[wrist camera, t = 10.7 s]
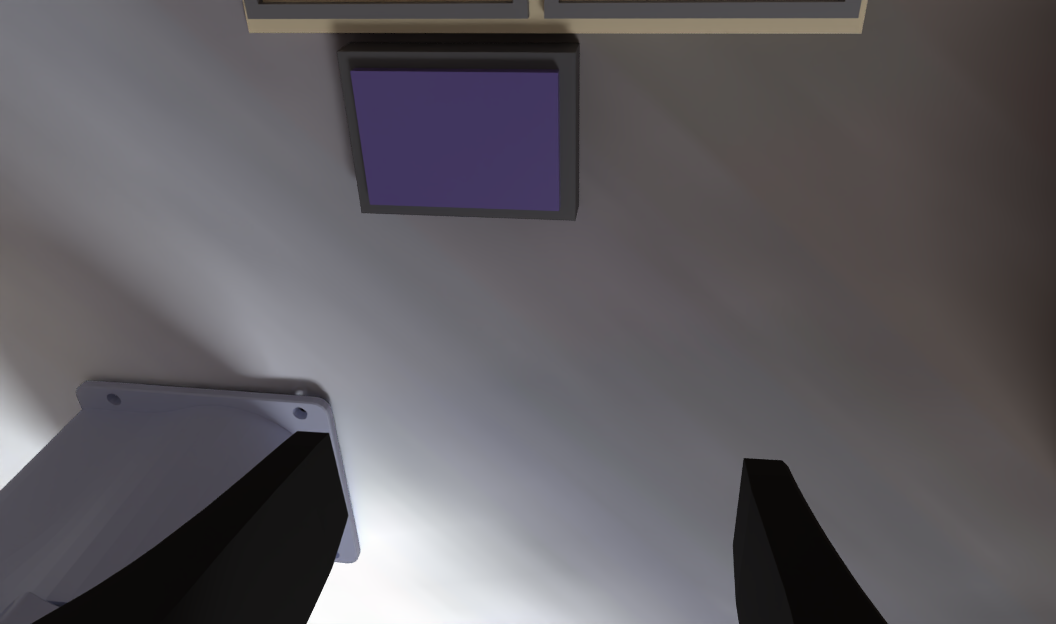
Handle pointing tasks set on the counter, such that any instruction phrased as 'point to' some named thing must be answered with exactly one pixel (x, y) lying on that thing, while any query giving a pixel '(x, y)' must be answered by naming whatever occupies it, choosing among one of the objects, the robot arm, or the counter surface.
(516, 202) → the ink pad
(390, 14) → the beige divided tray
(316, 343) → the counter surface
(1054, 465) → the counter surface
